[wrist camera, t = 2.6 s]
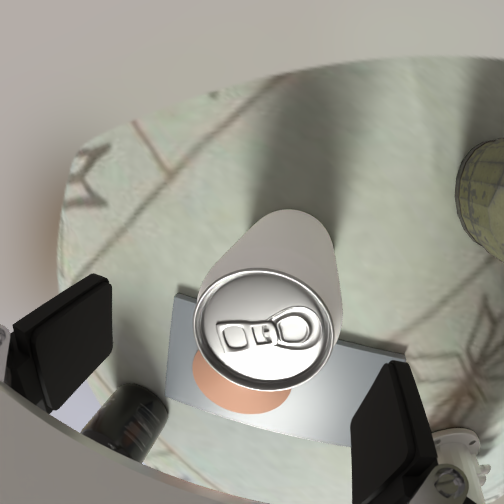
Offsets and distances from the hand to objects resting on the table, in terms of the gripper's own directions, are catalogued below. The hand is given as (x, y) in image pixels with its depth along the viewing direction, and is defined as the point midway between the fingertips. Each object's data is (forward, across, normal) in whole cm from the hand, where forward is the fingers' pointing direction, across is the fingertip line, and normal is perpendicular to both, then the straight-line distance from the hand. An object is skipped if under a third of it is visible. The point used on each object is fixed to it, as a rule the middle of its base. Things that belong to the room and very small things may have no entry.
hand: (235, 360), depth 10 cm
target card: (+14, -3, +13) cm, 19 cm away
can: (+14, -1, +1) cm, 15 cm away
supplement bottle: (+14, +10, +23) cm, 29 cm away
